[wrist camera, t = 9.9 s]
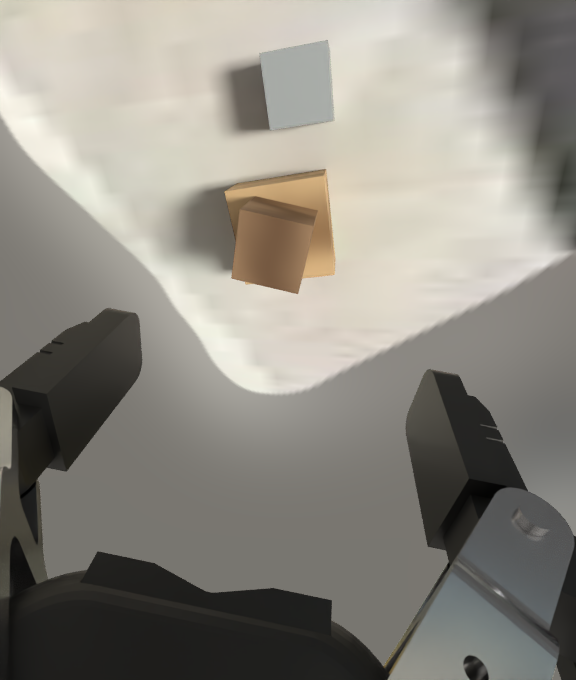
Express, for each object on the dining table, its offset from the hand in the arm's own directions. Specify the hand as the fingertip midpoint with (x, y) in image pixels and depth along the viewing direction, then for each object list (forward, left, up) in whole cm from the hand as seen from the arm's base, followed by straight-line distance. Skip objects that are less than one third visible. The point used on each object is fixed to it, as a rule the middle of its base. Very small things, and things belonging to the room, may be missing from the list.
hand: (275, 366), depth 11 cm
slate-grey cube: (-7, -2, -23) cm, 24 cm away
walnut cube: (+2, -2, -19) cm, 19 cm away
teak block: (+2, -2, -23) cm, 23 cm away
